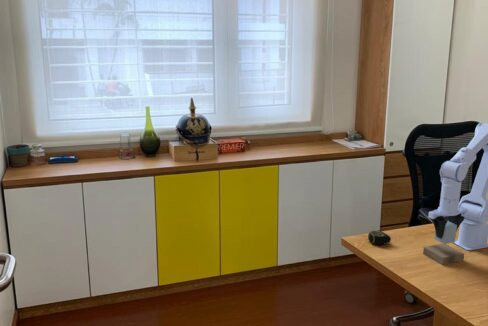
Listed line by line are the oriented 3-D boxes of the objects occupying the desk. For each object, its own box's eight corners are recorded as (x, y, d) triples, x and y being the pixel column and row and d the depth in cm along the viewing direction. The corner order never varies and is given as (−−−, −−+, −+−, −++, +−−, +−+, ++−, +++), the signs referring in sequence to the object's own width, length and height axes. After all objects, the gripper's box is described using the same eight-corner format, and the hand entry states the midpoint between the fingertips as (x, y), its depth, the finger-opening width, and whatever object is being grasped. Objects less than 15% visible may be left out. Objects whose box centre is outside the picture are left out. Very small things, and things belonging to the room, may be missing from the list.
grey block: (445, 237, 167) (446, 220, 166) (455, 242, 163) (457, 225, 162) (434, 238, 166) (436, 222, 164) (444, 243, 161) (445, 226, 160)
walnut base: (443, 251, 171) (444, 243, 171) (463, 262, 163) (464, 253, 163) (422, 255, 168) (423, 246, 168) (441, 266, 160) (442, 257, 159)
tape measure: (391, 245, 175) (392, 235, 175) (374, 247, 173) (375, 237, 172) (380, 238, 182) (381, 228, 181) (364, 240, 180) (365, 230, 179)
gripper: (458, 192, 167) (453, 229, 170) (423, 196, 162) (419, 234, 165) (474, 198, 160) (469, 236, 164) (438, 202, 155) (434, 242, 159)
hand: (445, 236), depth 164 cm, fingers closed on grey block, 5 cm apart
